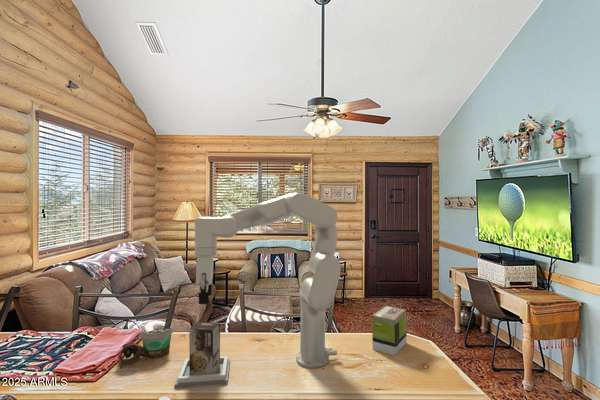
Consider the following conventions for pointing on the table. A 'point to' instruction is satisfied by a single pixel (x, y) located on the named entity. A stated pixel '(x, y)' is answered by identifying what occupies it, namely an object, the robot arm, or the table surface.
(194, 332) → the coffee box
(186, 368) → the board
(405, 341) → the tea box
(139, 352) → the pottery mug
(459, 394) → the table surface
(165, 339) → the food container
